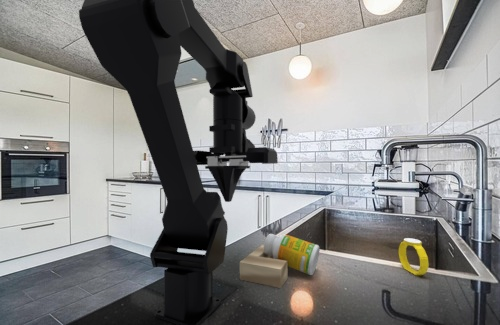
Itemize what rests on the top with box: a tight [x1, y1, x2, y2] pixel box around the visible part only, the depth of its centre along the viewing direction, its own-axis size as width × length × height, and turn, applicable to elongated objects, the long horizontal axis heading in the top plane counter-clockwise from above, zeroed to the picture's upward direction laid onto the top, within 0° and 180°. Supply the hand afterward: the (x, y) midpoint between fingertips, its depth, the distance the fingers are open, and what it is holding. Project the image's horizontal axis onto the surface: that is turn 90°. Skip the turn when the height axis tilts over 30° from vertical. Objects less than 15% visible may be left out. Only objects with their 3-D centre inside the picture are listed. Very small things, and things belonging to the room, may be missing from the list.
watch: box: [398, 237, 430, 276], centre depth 44 cm, size 6×3×6 cm, turn 3°
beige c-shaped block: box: [239, 243, 288, 289], centre depth 47 cm, size 14×8×3 cm, turn 155°
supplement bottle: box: [263, 233, 320, 276], centre depth 45 cm, size 5×5×10 cm
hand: (228, 201), depth 47 cm, fingers closed
